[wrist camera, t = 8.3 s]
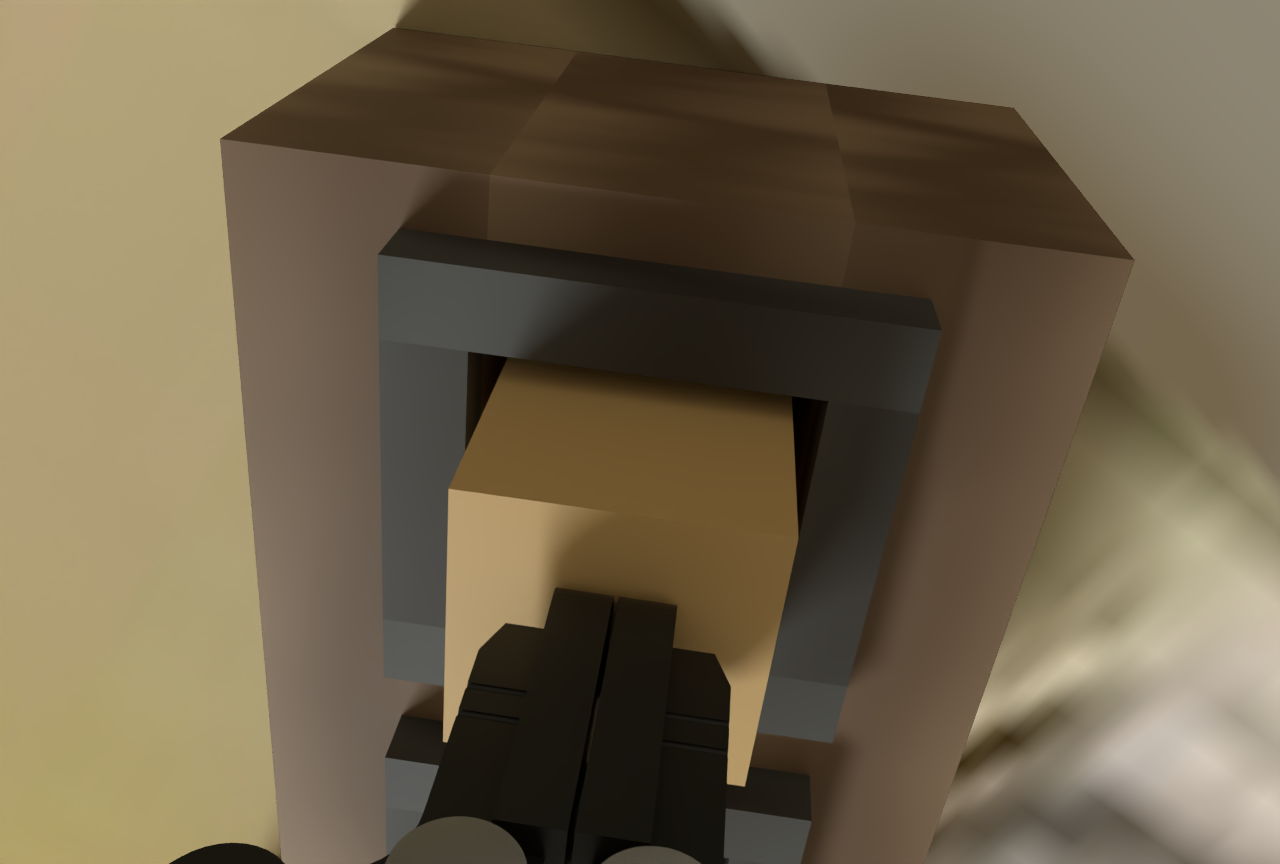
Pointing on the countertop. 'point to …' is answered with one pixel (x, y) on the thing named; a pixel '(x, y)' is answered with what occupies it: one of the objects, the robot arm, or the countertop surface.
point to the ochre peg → (626, 518)
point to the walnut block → (664, 348)
